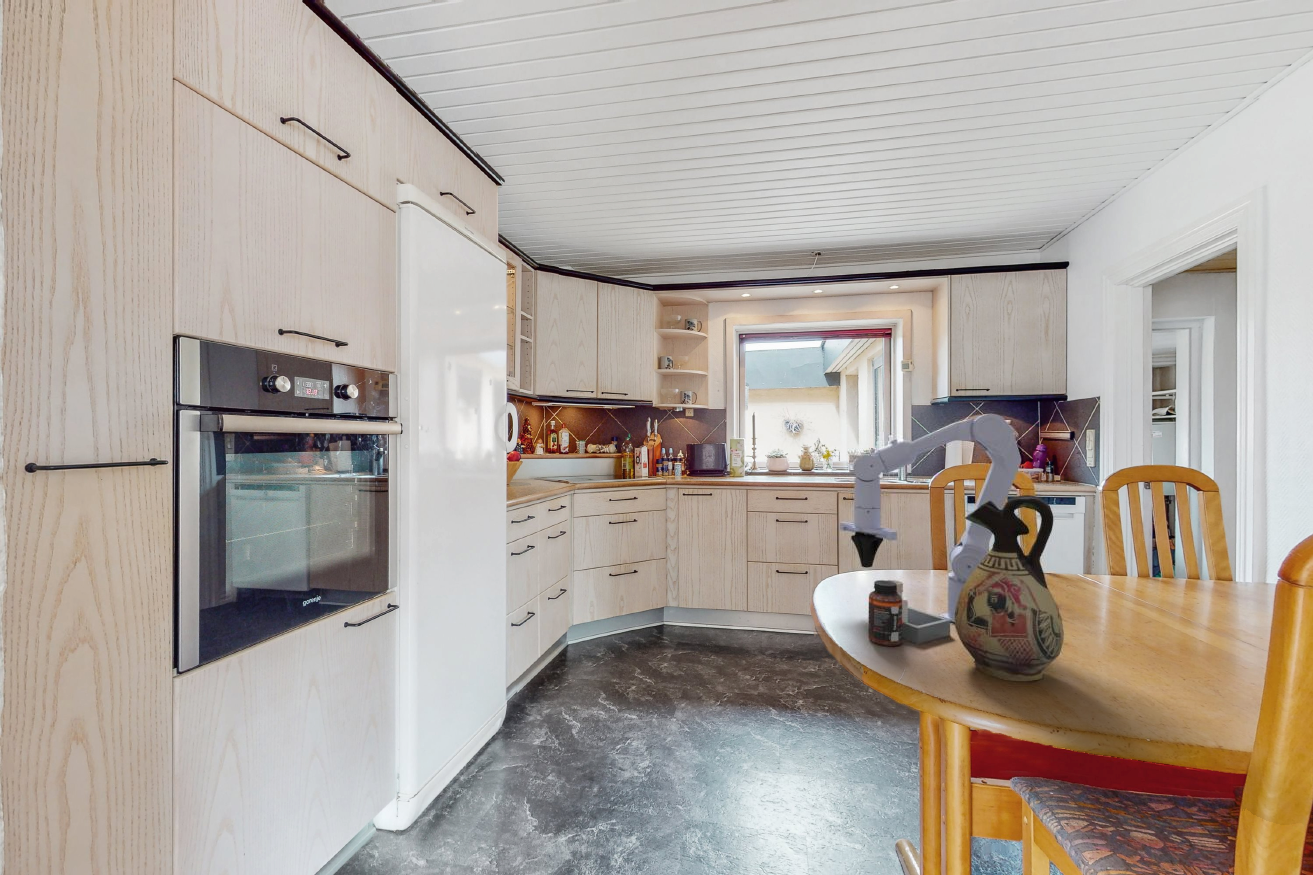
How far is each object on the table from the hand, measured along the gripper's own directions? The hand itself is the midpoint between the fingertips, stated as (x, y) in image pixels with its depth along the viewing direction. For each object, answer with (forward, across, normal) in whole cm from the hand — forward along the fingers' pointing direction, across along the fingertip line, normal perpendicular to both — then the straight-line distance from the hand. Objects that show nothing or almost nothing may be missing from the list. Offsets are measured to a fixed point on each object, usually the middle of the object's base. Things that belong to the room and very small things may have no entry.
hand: (866, 566), depth 126 cm
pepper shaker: (+10, +12, -6) cm, 16 cm away
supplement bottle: (+10, +16, -13) cm, 23 cm away
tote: (+9, +15, -4) cm, 18 cm away
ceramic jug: (+10, +35, -6) cm, 37 cm away
